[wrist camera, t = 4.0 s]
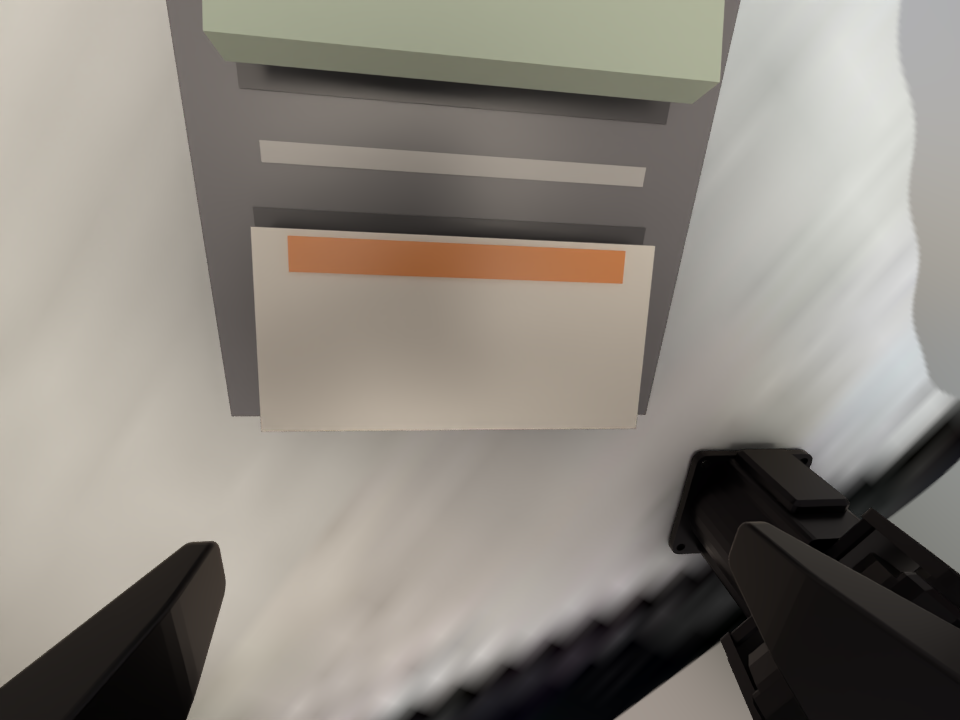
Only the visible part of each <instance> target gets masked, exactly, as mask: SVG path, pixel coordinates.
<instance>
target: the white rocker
mask: <svg viewBox="0 0 960 720" xmlns="http://www.w3.org/2000/svg"><path fill="white" fill-rule="evenodd" d="M251 244H252V263H253V283H254V302H255V321H256V340H257V360H258V379H259V398H260V417H261V432H269V431H391V430H512V429H633V428H636V422H637V413H638V404H639V394H640V385H641V375H642V366H643V356H644V347H645V337H646V328H647V318H648V309H649V300H650V290H651V281H652V271H653V262H654V252H655V246H646V245H625V244H604V243H583V242H562V241H541V240H520V239H499V238H478V237H457V236H436V235H415V234H394V233H373V232H352V231H331V230H310V229H289V228H268V227H251Z"/></svg>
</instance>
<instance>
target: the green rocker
mask: <svg viewBox="0 0 960 720" xmlns="http://www.w3.org/2000/svg"><path fill="white" fill-rule="evenodd" d="M724 4H725V0H202V16H203V32H204V33H205V34H206V36H207V37H208V38H209V40H210V41H211V43H212V44H213V45H214V47H215V48H216V49H217V51H218V52H219V54H220V55H221V56H222V58H223V59H224V60H225V61H231V62H241V63H252V64H263V65H274V66H285V67H296V68H307V69H317V70H328V71H339V72H350V73H361V74H372V75H382V76H393V77H404V78H415V79H426V80H437V81H448V82H458V83H469V84H480V85H491V86H502V87H513V88H524V89H534V90H545V91H556V92H567V93H578V94H589V95H599V96H610V97H621V98H632V99H643V100H654V101H665V102H675V103H686V104H693V103H694V102H695V101H697V100H698V99H699V98H700V97H702V96H703V95H704V94H706V93H707V92H708V91H709V90H711V89H712V88H713V87H714V86H716V85H717V84H718V83H720V72H721V55H722V38H723V21H724Z"/></svg>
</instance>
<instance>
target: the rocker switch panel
mask: <svg viewBox="0 0 960 720" xmlns="http://www.w3.org/2000/svg"><path fill="white" fill-rule="evenodd" d="M166 4H167V10H168V16H169V23H170V29H171V35H172V42H173V48H174V54H175V61H176V67H177V73H178V80H179V86H180V92H181V99H182V105H183V111H184V118H185V124H186V130H187V137H188V143H189V149H190V156H191V162H192V168H193V175H194V181H195V187H196V194H197V200H198V206H199V213H200V219H201V225H202V232H203V238H204V244H205V251H206V257H207V263H208V270H209V276H210V282H211V289H212V295H213V301H214V308H215V314H216V320H217V327H218V333H219V339H220V346H221V352H222V358H223V365H224V371H225V377H226V384H227V390H228V396H229V403H230V409H231V415H232V416H260V398H259V379H258V360H257V340H256V321H255V302H254V283H253V263H252V244H251V227H268V228H289V229H310V230H331V231H352V232H373V233H394V234H415V235H436V236H457V237H478V238H499V239H520V240H541V241H562V242H583V243H604V244H625V245H646V246H655V252H654V262H653V271H652V281H651V290H650V300H649V309H648V318H647V328H646V337H645V347H644V356H643V366H642V375H641V385H640V394H639V404H638V413H637V415H646V411H647V406H648V402H649V398H650V393H651V389H652V384H653V380H654V376H655V371H656V367H657V363H658V358H659V354H660V350H661V345H662V341H663V336H664V332H665V328H666V323H667V319H668V315H669V310H670V306H671V301H672V297H673V293H674V288H675V284H676V280H677V275H678V271H679V267H680V262H681V258H682V253H683V249H684V245H685V240H686V236H687V232H688V227H689V223H690V219H691V214H692V210H693V205H694V201H695V197H696V192H697V188H698V184H699V179H700V175H701V171H702V166H703V162H704V157H705V153H706V149H707V144H708V140H709V136H710V131H711V127H712V122H713V118H714V114H715V109H716V105H717V101H718V96H719V92H720V88H721V83H722V79H723V74H724V70H725V66H726V61H727V57H728V53H729V48H730V44H731V40H732V35H733V31H734V26H735V22H736V18H737V13H738V9H739V5H740V0H725V4H724V21H723V38H722V55H721V72H720V83H718V84H717V85H716V86H714V87H713V88H712V89H711V90H709V91H708V92H707V93H706V94H704V95H703V96H702V97H700V98H699V99H698V100H697V101H695V102H694V103H693V104H686V103H675V102H665V101H654V100H643V99H632V98H621V97H610V96H599V95H589V94H578V93H567V92H556V91H545V90H534V89H524V88H513V87H502V86H491V85H480V84H469V83H458V82H448V81H437V80H426V79H415V78H404V77H393V76H382V75H372V74H361V73H350V72H339V71H328V70H317V69H307V68H296V67H285V66H274V65H263V64H252V63H241V62H231V61H225V60H224V59H223V58H222V56H221V55H220V54H219V52H218V51H217V49H216V48H215V47H214V45H213V44H212V43H211V41H210V40H209V38H208V37H207V36H206V34H205V33H204V32H203V16H202V0H166Z"/></svg>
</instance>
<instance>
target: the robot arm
mask: <svg viewBox="0 0 960 720" xmlns="http://www.w3.org/2000/svg"><path fill="white" fill-rule="evenodd" d="M704 460H705V462H703V461H704ZM702 462H703V463H702ZM811 463H812V456H811V455H809V454H808V453H807V452H806V451H804V450H786V449H744V450H740V451H702V452H699V453H697V454H696V455H695V456H694V457H693V459H692V463H691V466H690V470H689V473H688V477H687V480H686V484H685V487H684V491H683V494H682V498H681V501H680V505H679V508H678V512H677V515H676V519H675V523H674V526H673V530H672V533H671V537H670V540H669V546H670V548H671V549H672V551H673V552H674V553H675V554H691V553H701V554H702V555H703V557H704V558H705V560H706V561H707V562H708V564H709V565H710V567H711V568H712V569H713V571H714V572H715V574H716V575H717V576H718V578H719V579H720V581H721V582H722V583H723V585H724V586H725V588H726V589H727V590H728V592H729V593H730V595H731V596H732V597H733V599H734V600H735V602H736V603H737V605H738V606H739V607H740V609H741V610H742V612H743V613H744V614H745V616H746V617H747V619H746V620H745V621H744V622H743V623H742V624H741V625H739V626H738V627H737V628H736V629H735V630H734V631H733V632H730V631H729V632H728V633H727V634H725V635H724V636H723V637H722V638H721V639H720V640H721V643H722V645H723V648H724V650H725V652H726V655H727V657H728V661H729V664H730V666H731V668H732V671H733V673H734V675H735V678H736V680H737V682H738V685H739V687H740V690H741V692H742V694H743V697H744V699H745V701H746V704H747V706H748V708H749V711H750V713H751V715H752V718H753V720H960V574H959V573H958V572H956V571H955V570H954V569H952V568H951V567H950V566H949V565H947V564H946V563H945V562H943V561H942V560H941V559H939V558H938V557H937V556H935V555H934V554H933V553H932V552H930V551H929V550H928V549H926V548H925V547H924V546H922V545H921V544H920V543H918V542H917V541H916V540H914V539H913V538H911V537H910V536H909V535H908V534H906V533H905V532H904V531H902V530H901V529H899V528H898V527H897V526H895V525H894V524H893V523H891V522H890V521H889V520H887V519H886V518H885V517H883V516H882V515H881V514H879V513H878V512H877V511H875V510H874V509H873V508H870V509H869V510H868V511H866V512H865V513H864V514H863V515H862V516H861V517H862V519H861V520H860V519H859V518H858V517H857V516H855V515H854V514H853V513H852V512H851V511H849V510H848V507H849V504H850V503H849V501H848V500H847V499H846V497H845V496H843V495H842V494H841V493H840V492H838V491H837V490H836V489H835V488H833V487H832V486H831V485H830V484H828V483H827V482H826V481H825V480H823V479H822V478H821V477H820V476H818V475H817V474H816V473H815V472H813V471H812V470H811V469H810V465H811ZM225 585H226V580H225V574H224V569H223V563H222V558H221V553H220V548H219V545H218V544H217V543H216V542H214V541H203V542H190V543H187V544H185V545H184V546H182V547H181V548H180V549H178V550H177V551H176V552H175V553H173V554H172V555H171V556H169V557H168V558H167V559H166V560H164V561H163V562H162V563H160V564H159V565H158V566H156V567H155V568H154V569H153V570H151V571H150V572H149V573H147V574H146V575H145V576H144V577H142V578H141V579H140V580H138V581H137V582H136V583H135V584H133V585H132V586H131V587H129V588H128V589H127V590H126V591H124V592H123V593H122V594H120V595H119V596H118V597H117V598H115V599H114V600H113V601H111V602H110V603H109V604H108V605H106V606H105V607H104V608H102V609H101V610H100V611H99V612H97V613H96V614H95V615H93V616H92V617H91V618H89V619H88V620H87V621H86V622H84V623H83V624H82V625H80V626H79V627H78V628H77V629H75V630H74V631H73V632H71V633H70V634H69V635H68V636H66V637H65V638H64V639H62V640H61V641H60V642H59V643H57V644H56V645H55V646H53V647H52V648H51V649H50V650H48V651H47V652H46V653H44V654H43V655H42V656H41V657H39V658H38V659H37V660H35V661H34V662H33V663H32V664H30V665H29V666H28V667H26V668H25V669H24V670H23V671H21V672H20V673H19V674H17V675H16V676H15V677H13V678H12V679H11V680H10V681H8V682H7V683H6V684H4V685H3V686H2V687H1V688H0V720H186V719H187V716H188V714H189V711H190V708H191V705H192V703H193V700H194V697H195V694H196V690H197V687H198V684H199V681H200V677H201V674H202V670H203V667H204V663H205V660H206V656H207V653H208V649H209V646H210V642H211V639H212V635H213V632H214V628H215V625H216V622H217V618H218V615H219V611H220V608H221V604H222V601H223V597H224V593H225Z"/></svg>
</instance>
